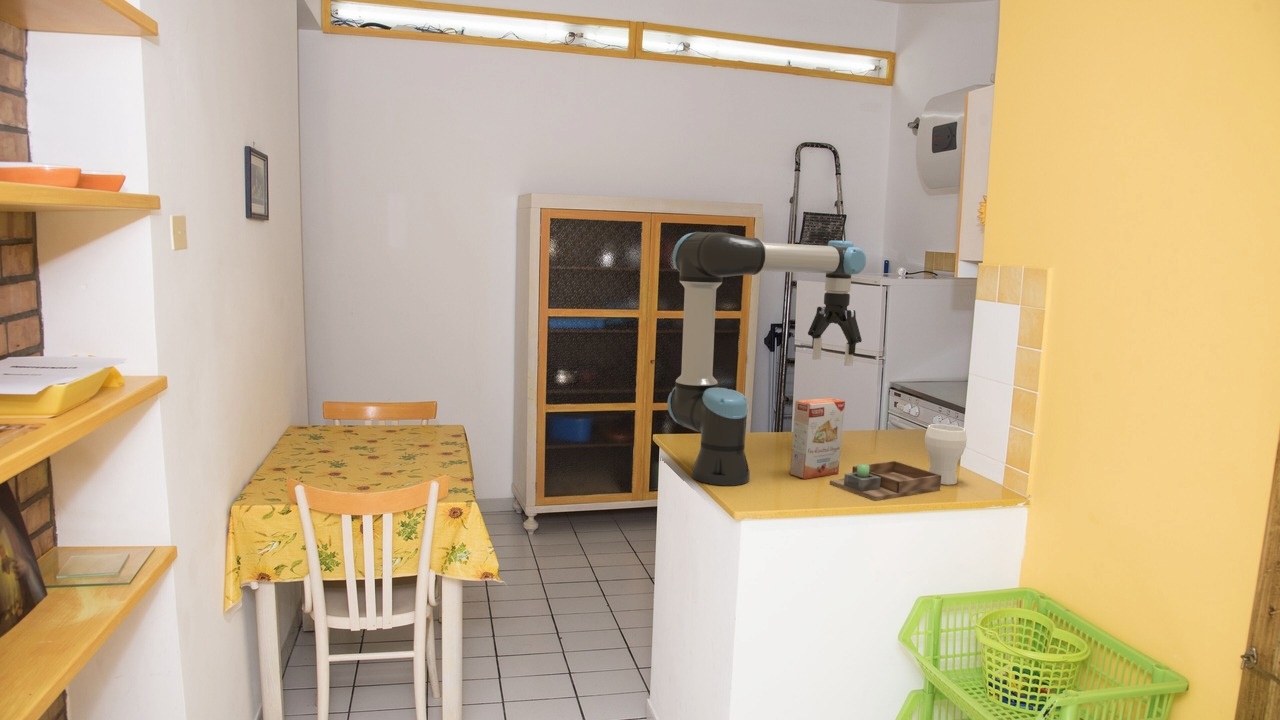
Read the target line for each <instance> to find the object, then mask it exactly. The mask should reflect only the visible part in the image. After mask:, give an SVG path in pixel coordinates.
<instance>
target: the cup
mask: <svg viewBox="0 0 1280 720" xmlns="http://www.w3.org/2000/svg"><path fill="white" fill-rule="evenodd" d="M967 437H968V436H967V433H966V428H964V427H962V426H959V425H953V424H944V423H931V424H928V426H927V429H926V432H925V436H924V446H925V449H926V452H927V455H928V456H929V469H928V471H929V472H932V473H935V474H939V475H941V484H940V485H948V486H949V485H951V486H952V485H956V484H957V483H958V477H957V467H958V462H959V460H960V459H961V458H962V456H963V454H964V452H965V449H966V447H967V440H968V439H967Z"/></svg>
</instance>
